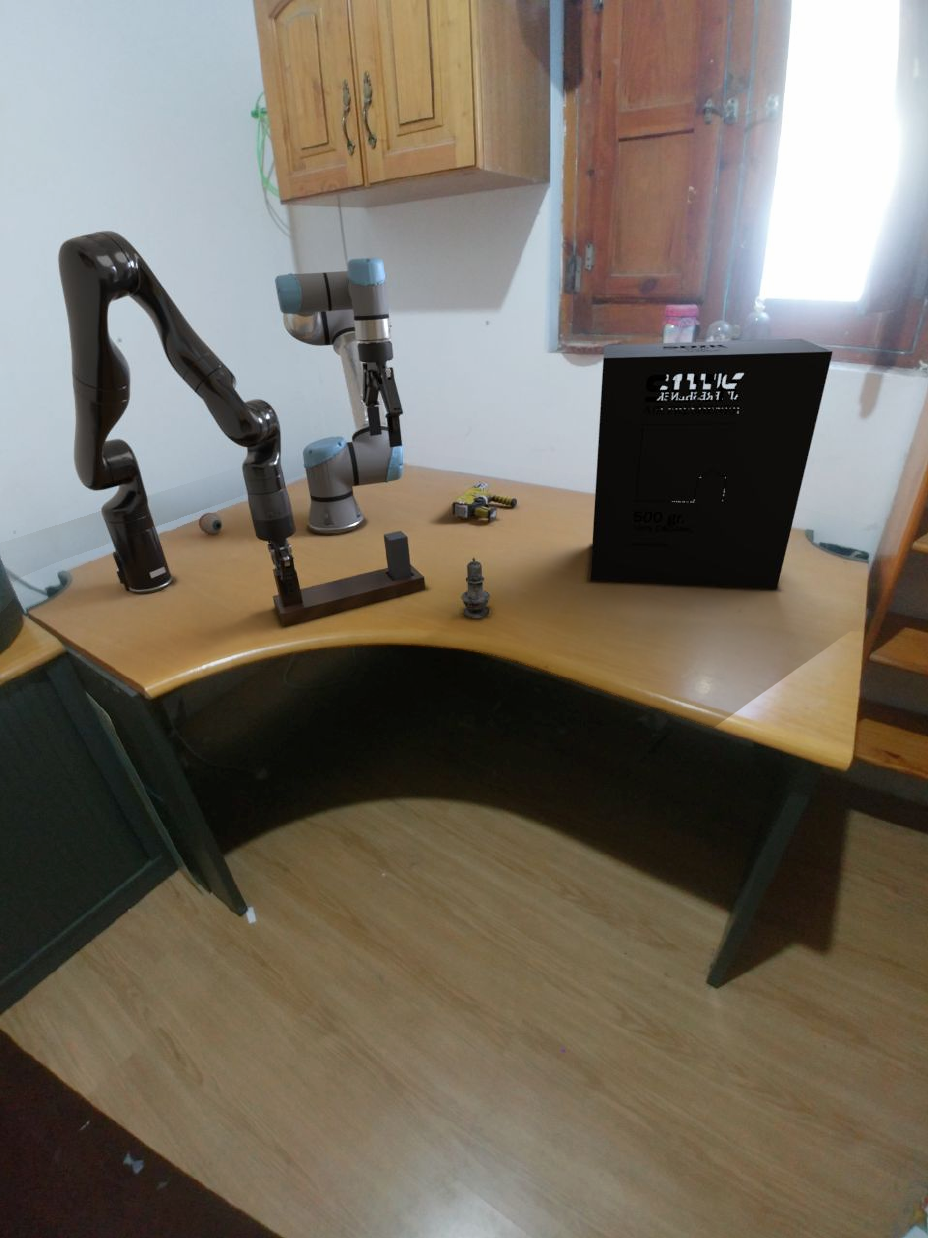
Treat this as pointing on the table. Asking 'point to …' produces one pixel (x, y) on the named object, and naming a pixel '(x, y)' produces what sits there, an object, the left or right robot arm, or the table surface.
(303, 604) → the walnut plank
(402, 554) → the grey peg
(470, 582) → the grey chess piece
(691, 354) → the cardboard box
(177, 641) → the table surface
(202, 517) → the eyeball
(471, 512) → the toy gun
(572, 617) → the table surface
